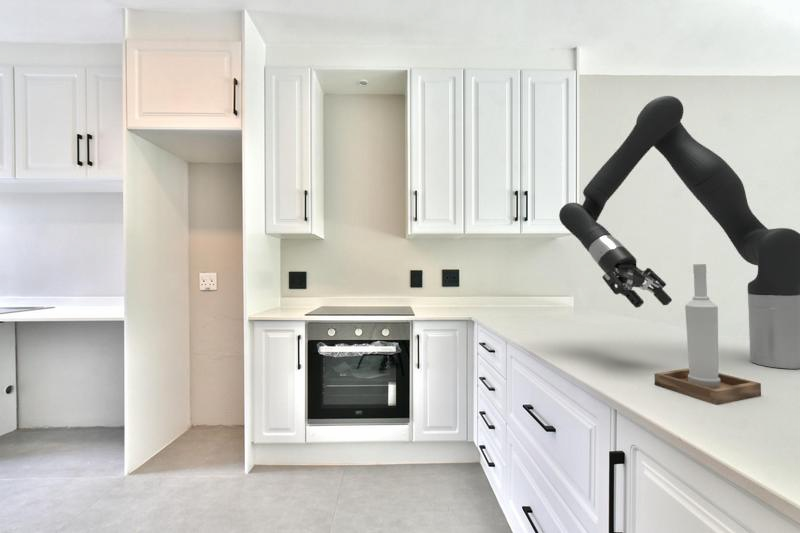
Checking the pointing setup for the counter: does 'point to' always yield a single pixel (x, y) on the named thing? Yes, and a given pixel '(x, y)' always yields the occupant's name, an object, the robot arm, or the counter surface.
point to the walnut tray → (725, 393)
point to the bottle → (702, 333)
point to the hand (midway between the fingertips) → (654, 304)
